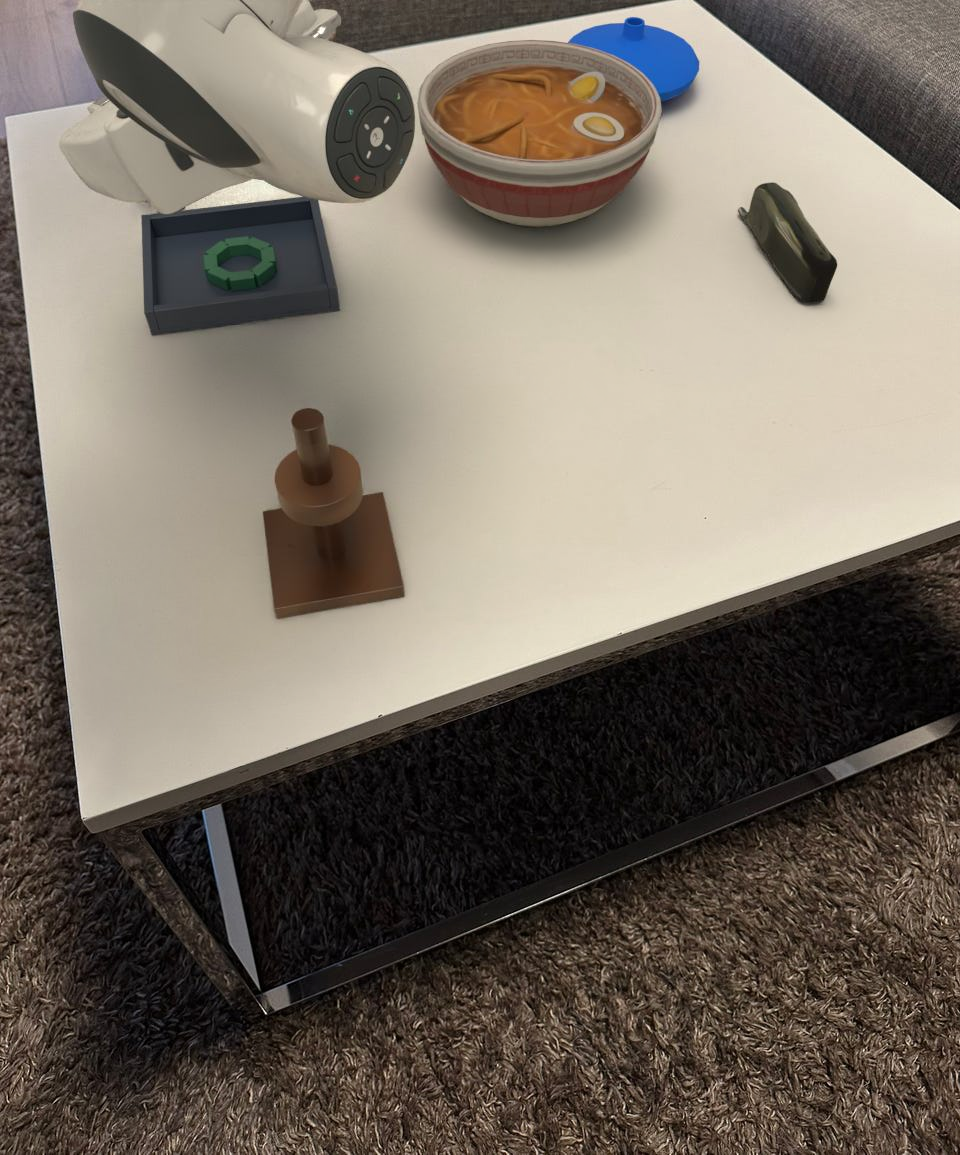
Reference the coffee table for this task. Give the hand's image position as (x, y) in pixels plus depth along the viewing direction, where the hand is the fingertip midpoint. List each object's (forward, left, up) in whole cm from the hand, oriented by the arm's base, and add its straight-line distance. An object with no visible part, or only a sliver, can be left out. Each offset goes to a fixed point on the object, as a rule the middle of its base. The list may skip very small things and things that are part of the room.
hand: (149, 77), depth 72 cm
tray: (+3, +2, -19) cm, 20 cm away
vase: (+49, +28, -19) cm, 60 cm away
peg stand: (+7, -33, -19) cm, 39 cm away
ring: (+4, +2, -19) cm, 19 cm away
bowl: (+33, +9, -19) cm, 40 cm away
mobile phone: (+54, -6, -19) cm, 57 cm away
